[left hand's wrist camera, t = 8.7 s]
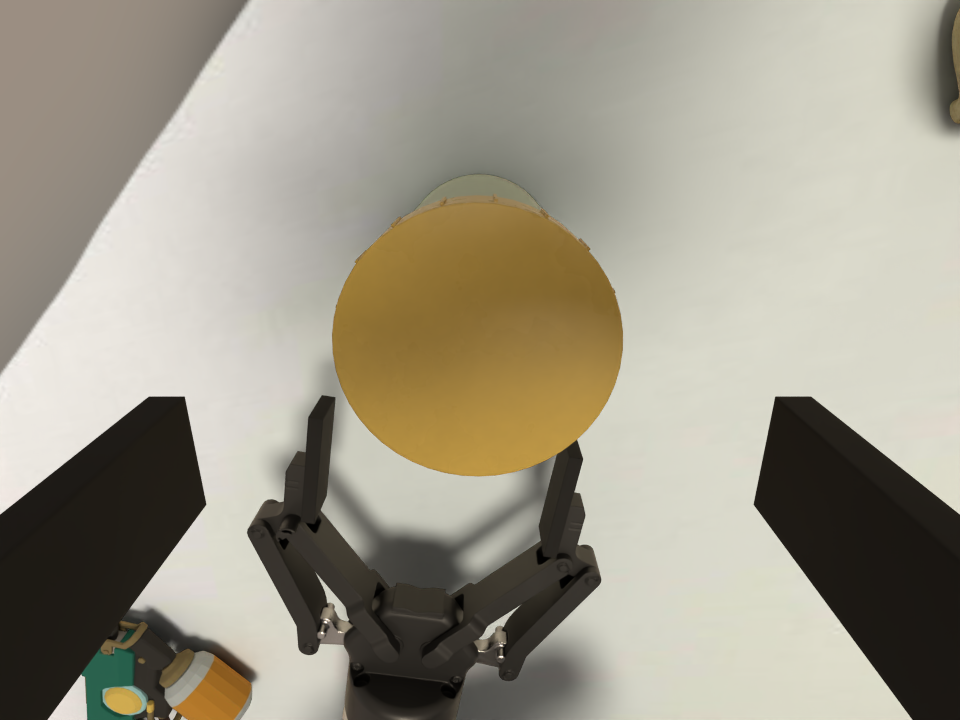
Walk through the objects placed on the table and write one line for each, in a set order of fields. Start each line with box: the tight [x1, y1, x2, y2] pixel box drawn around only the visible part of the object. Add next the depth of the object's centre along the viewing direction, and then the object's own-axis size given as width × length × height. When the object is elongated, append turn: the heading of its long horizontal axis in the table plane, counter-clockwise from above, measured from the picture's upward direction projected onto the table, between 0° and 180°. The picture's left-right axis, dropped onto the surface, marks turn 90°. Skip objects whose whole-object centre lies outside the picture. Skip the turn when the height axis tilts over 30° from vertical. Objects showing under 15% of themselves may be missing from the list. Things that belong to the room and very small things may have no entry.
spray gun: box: [82, 621, 252, 720], centre depth 46 cm, size 4×17×15 cm
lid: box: [332, 194, 623, 476], centre depth 19 cm, size 9×9×2 cm
